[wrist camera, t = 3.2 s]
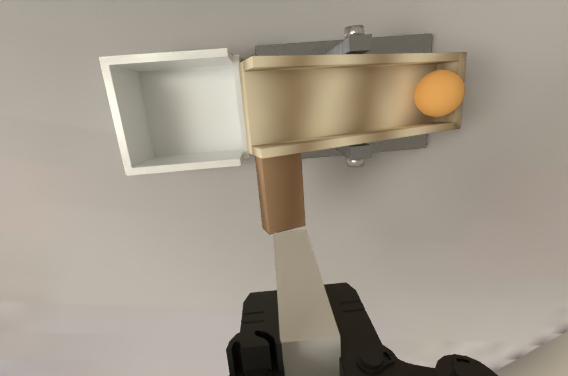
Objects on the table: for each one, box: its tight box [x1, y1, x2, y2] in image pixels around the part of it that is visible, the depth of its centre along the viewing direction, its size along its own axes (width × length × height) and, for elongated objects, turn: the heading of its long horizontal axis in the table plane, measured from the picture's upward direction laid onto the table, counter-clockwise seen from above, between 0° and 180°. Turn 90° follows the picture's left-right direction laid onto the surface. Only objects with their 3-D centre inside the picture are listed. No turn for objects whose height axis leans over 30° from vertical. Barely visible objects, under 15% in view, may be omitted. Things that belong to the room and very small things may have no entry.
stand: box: [255, 25, 432, 167], centre depth 26 cm, size 17×11×8 cm, turn 94°
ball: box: [414, 70, 465, 117], centre depth 24 cm, size 4×4×4 cm
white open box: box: [99, 48, 250, 176], centre depth 27 cm, size 9×10×6 cm
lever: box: [238, 52, 467, 235], centre depth 24 cm, size 18×12×3 cm, turn 94°
